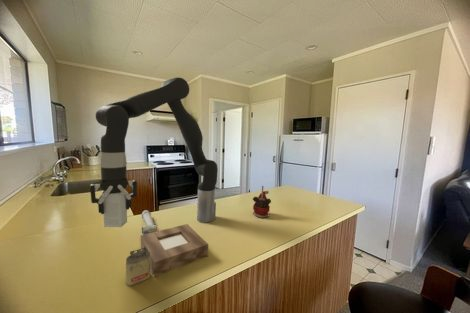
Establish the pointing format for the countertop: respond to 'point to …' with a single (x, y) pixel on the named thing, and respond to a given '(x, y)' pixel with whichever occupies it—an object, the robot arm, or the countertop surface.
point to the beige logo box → (137, 266)
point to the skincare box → (115, 210)
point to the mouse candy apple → (261, 205)
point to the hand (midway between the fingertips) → (115, 211)
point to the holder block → (173, 249)
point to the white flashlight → (148, 223)
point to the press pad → (172, 241)
